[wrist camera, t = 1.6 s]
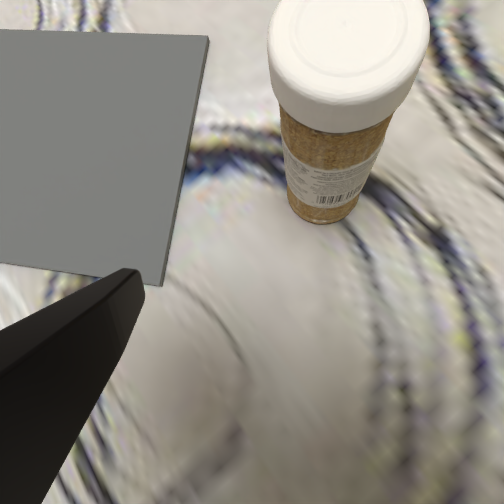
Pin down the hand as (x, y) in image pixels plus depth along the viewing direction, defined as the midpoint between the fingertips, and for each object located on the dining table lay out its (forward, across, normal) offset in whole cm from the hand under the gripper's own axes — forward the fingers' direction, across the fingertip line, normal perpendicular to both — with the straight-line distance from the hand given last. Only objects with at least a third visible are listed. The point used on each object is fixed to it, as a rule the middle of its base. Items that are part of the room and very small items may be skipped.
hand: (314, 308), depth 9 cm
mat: (+16, +18, +3) cm, 25 cm away
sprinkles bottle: (+15, 0, +4) cm, 16 cm away
